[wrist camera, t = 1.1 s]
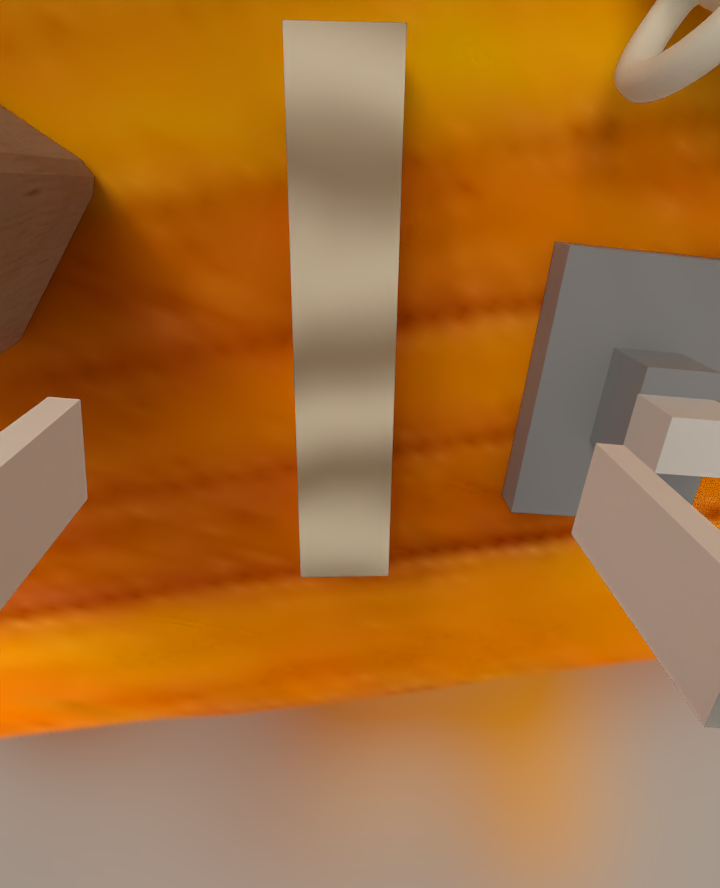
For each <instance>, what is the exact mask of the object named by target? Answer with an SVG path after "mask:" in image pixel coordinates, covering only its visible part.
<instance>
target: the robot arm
mask: <svg viewBox="0 0 720 888" xmlns="http://www.w3.org/2000/svg"><path fill="white" fill-rule="evenodd" d="M87 499H88V495H87V482H86V468H85V454H84V441H83V427H82V413H81V399H71V398H59V397H47V398H46V399H44V400H43V401H42V402H40V403H39V404H37V405H36V406H35V407H33V408H32V409H31V410H29V411H28V412H27V413H25V414H24V415H23V416H21V417H20V418H19V419H17V420H16V421H15V422H13V423H12V424H10V425H9V426H8V427H6V428H5V429H4V430H2V431H1V432H0V610H1V609H2V608H3V606H4V605H5V604H6V603H7V601H8V600H9V599H10V597H11V596H12V595H13V594H14V592H15V591H16V590H17V588H18V587H19V586H20V585H21V583H22V582H23V581H24V580H25V578H26V577H27V576H28V574H29V573H30V572H31V571H32V569H33V568H34V567H35V565H36V564H37V563H38V562H39V560H40V559H41V558H42V557H43V555H44V554H45V553H46V551H47V550H48V549H49V548H50V546H51V545H52V544H53V542H54V541H55V540H56V539H57V537H58V536H59V535H60V534H61V532H62V531H63V530H64V528H65V527H66V526H67V525H68V523H69V522H70V521H71V519H72V518H73V517H74V516H75V514H76V513H77V512H78V511H79V509H80V508H81V507H82V505H83V504H84V503H85V502H86V500H87ZM571 534H572V536H573V537H574V539H575V540H576V542H577V543H578V544H579V546H580V547H581V549H582V550H583V552H584V553H585V555H586V556H587V558H588V559H589V560H590V562H591V563H592V565H593V566H594V568H595V569H596V571H597V572H598V574H599V575H600V576H601V578H602V579H603V581H604V582H605V584H606V585H607V587H608V588H609V589H610V591H611V592H612V594H613V595H614V597H615V598H616V600H617V601H618V603H619V604H620V605H621V607H622V608H623V610H624V611H625V613H626V614H627V616H628V617H629V619H630V620H631V621H632V623H633V624H634V626H635V627H636V629H637V630H638V632H639V633H640V635H641V636H642V637H643V639H644V640H645V642H646V643H647V645H648V646H649V648H650V649H651V651H652V652H653V653H654V655H655V656H656V658H657V659H658V661H659V662H660V664H661V665H662V667H663V668H664V669H665V671H666V672H667V674H668V675H669V677H670V678H671V680H672V681H673V683H674V684H675V685H676V687H677V688H678V690H679V691H680V692H681V694H682V695H683V697H684V698H685V700H686V701H687V703H688V704H689V706H690V707H691V709H692V710H693V712H694V713H695V714H696V716H697V717H698V719H699V720H700V722H701V723H702V725H703V726H704V727H714V728H720V530H719V529H718V528H717V527H716V526H714V525H713V524H712V523H711V522H710V521H709V520H708V519H707V518H705V517H704V516H703V515H702V514H701V513H700V512H699V511H698V510H696V509H695V508H694V507H693V506H692V505H691V504H690V503H689V502H687V501H686V500H685V499H684V498H683V497H682V496H681V495H680V494H678V493H677V492H676V491H675V490H674V489H673V488H672V487H670V486H669V485H668V484H667V483H666V482H665V481H664V480H663V479H661V478H660V477H659V476H658V475H657V474H656V473H655V472H654V471H652V470H651V469H650V468H649V467H648V466H647V465H646V464H645V463H643V462H642V461H641V460H640V459H639V458H638V457H637V456H636V455H634V454H633V453H632V452H631V451H630V450H629V449H628V448H627V447H625V446H624V445H614V444H602V443H596V445H595V449H594V452H593V456H592V459H591V463H590V467H589V470H588V474H587V478H586V481H585V485H584V488H583V492H582V496H581V499H580V503H579V507H578V510H577V514H576V517H575V521H574V525H573V528H572V532H571Z"/></svg>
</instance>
